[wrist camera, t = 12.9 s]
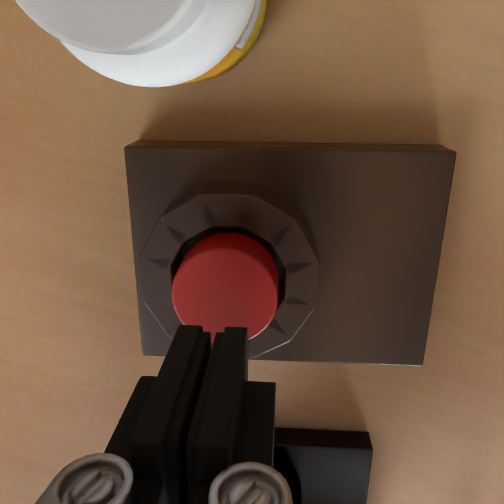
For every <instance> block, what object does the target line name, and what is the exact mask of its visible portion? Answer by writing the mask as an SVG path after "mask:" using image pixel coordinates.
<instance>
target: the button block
mask: <svg viewBox="0 0 504 504" xmlns="http://www.w3.org/2000/svg"><path fill="white" fill-rule="evenodd" d="M124 150H125V161H126V173H127V184H128V195H129V206H130V218H131V229H132V240H133V252H134V263H135V274H136V285H137V297H138V308H139V319H140V331H141V342H142V353H143V355H149V356H166V355H167V352H168V350H169V348H170V345H171V343H172V341H173V338H174V336H175V333H176V331H177V329H178V327H179V325H183V323H182V322H181V321H180V319H179V318H178V316H177V314H176V312H175V310H174V307H173V303H172V297H171V289H172V283H173V280H174V277H175V275H176V273H177V271H178V269H179V267H180V265H181V263H182V261H183V259H184V257H185V255H186V254H187V252H188V251H189V249H190V248H191V247H192V246H193V245H194V244H195V243H196V242H198V241H199V240H201V239H202V238H204V237H206V236H209V235H212V234H215V233H220V232H234V233H239V234H243V235H246V236H249V237H251V238H253V239H254V240H256V241H258V242H259V243H260V244H261V245H263V246H264V247H265V248H266V249H267V251H268V252H269V253H270V255H271V256H272V258H273V260H274V262H275V264H276V267H277V272H278V302H277V308H276V312H275V314H274V317H273V319H272V320H271V322H270V323H269V325H268V326H267V327H266V328H265V329H264V330H263V331H262V332H261V333H259V334H258V335H257V336H255V337H253V338H251V339H249V340H248V359H250V360H275V361H300V362H326V363H351V364H376V365H401V366H422V365H423V359H424V353H425V347H426V340H427V334H428V328H429V322H430V315H431V309H432V303H433V297H434V290H435V284H436V278H437V272H438V265H439V259H440V253H441V247H442V240H443V234H444V228H445V222H446V215H447V209H448V203H449V197H450V190H451V184H452V178H453V172H454V165H455V159H456V152H455V151H453V150H451V149H449V148H447V147H444V146H442V145H418V144H353V143H288V142H223V141H159V140H137V141H135V142H133V143H131V144H129V145H127V146H125V148H124ZM212 346H213V342H211V349H212Z"/></svg>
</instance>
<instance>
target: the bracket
mask: <svg viewBox="0 0 504 504" xmlns="http://www.w3.org/2000/svg"><path fill="white" fill-rule="evenodd" d="M372 452H373V448H372V444H371V440H370V436H369V432H358V431H337V430H316V429H295V428H274V451H273V468H274V469H275V470H277V471H278V472H280V473H281V475H282V476H283V477H284V478H285V479H286V481H287V483H288V485H289V488H290V491H291V496H292V501H293V504H366V500H367V492H368V484H369V476H370V468H371V460H372Z"/></svg>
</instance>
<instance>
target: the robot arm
mask: <svg viewBox="0 0 504 504" xmlns="http://www.w3.org/2000/svg"><path fill="white" fill-rule="evenodd" d="M275 391H276V383H275V382H255V381H248V328H247V327H225V329H224V332H216V335H215V338H214V342H213V346H212V349H211V333H210V332H206V331H203V327H202V325H179V327H178V329H177V331H176V333H175V336H174V338H173V341H172V343H171V345H170V348H169V350H168V352H167V355H166V357H165V359H164V362H163V364H162V366H161V369H160V371H159V373H158V376H157V377H155V376H142V377H141V378H140V379H139V381H138V383H137V385H136V387H135V389H134V391H133V393H132V395H131V397H130V399H129V402H128V404H127V406H126V408H125V410H124V412H123V414H122V416H121V418H120V420H119V422H118V425H117V427H116V429H115V431H114V433H113V435H112V437H111V439H110V441H109V443H108V445H107V447H106V450H105V452H104V453H97V454H91V455H87V456H84V457H82V458H79V459H77V460H75V461H73V462H72V463H70V464H69V465H67V466H66V467H64V468H63V469H62V470H61V471H60V472H59V473H58V474H57V475H56V477H55V478H54V479H53V481H52V482H51V483H50V485H49V486H48V487H47V488H46V490H45V491H44V492H43V494H42V495H41V496H40V498H39V499H38V500H37V502H36V503H35V504H293V501H292V496H291V491H290V488H289V485H288V483H287V481H286V479H285V478H284V477H283V476H282V475H281V473H280V472H278V471H277V470H275V469H274V468H273V451H274V424H275Z"/></svg>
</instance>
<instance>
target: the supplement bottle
mask: <svg viewBox="0 0 504 504" xmlns="http://www.w3.org/2000/svg"><path fill="white" fill-rule="evenodd" d="M15 1H16V3H17V4H18V5H19V6H20V7H21V8H22V10H23V11H24V12H25V13H26V14H27V15H28V16H29V17H30V18H31V19H32V20H33V21H34V22H35V23H36V24H38V25H39V26H40V27H41V28H42V29H44V30H45V31H47V32H48V33H50V34H51V35H52V36H54V37H56V38H58V39H59V40H60V41H61V43H62V44H63V45H64V46H65V47H66V48H67V49H68V50H69V51H70V52H71V53H72V54H73V55H74V56H75V57H77V58H78V59H79V60H80V61H81V62H83V63H84V64H85V65H87V66H88V67H90V68H91V69H93V70H95V71H96V72H98V73H100V74H102V75H104V76H106V77H108V78H110V79H113V80H116V81H118V82H122V83H125V84H129V85H134V86H142V87H167V86H174V85H180V84H186V83H192V82H199V81H204V80H208V79H212V78H215V77H217V76H220V75H222V74H224V73H226V72H228V71H229V70H231V69H232V68H234V67H235V66H236V65H238V64H239V63H240V62H241V61H242V60H243V59H244V58H245V57H246V55H247V54H248V53H249V51H250V50H251V49H252V47H253V45H254V44H255V42H256V40H257V38H258V36H259V33H260V31H261V28H262V25H263V22H264V18H265V13H266V4H267V0H15Z"/></svg>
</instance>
